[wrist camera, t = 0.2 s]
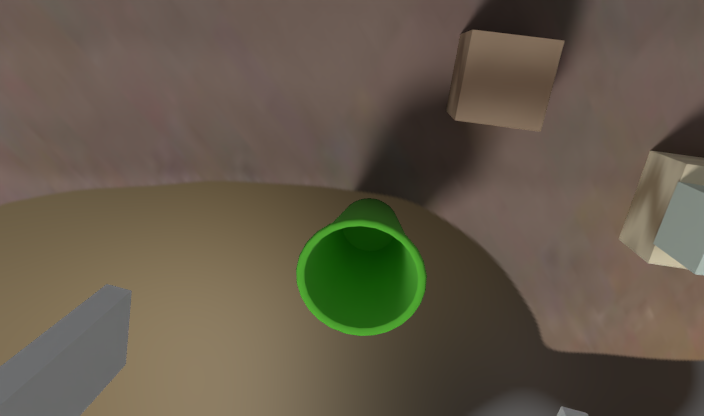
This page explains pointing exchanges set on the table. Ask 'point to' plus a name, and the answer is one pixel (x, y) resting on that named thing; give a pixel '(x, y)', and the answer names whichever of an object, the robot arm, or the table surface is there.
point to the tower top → (684, 227)
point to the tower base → (657, 202)
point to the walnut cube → (503, 79)
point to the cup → (362, 271)
